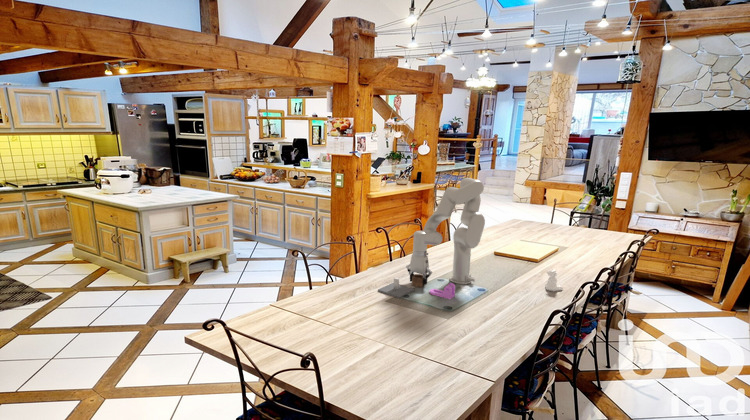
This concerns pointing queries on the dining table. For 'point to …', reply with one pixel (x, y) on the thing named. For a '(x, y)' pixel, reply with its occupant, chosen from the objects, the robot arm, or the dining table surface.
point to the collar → (417, 280)
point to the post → (396, 289)
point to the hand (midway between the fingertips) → (418, 282)
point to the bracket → (445, 291)
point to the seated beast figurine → (552, 281)
